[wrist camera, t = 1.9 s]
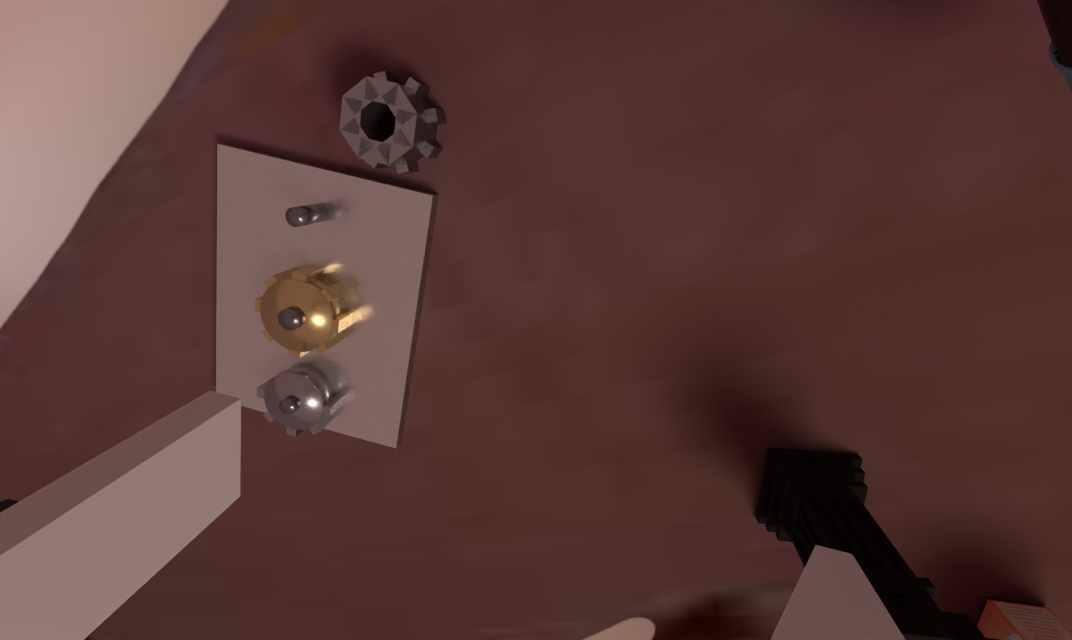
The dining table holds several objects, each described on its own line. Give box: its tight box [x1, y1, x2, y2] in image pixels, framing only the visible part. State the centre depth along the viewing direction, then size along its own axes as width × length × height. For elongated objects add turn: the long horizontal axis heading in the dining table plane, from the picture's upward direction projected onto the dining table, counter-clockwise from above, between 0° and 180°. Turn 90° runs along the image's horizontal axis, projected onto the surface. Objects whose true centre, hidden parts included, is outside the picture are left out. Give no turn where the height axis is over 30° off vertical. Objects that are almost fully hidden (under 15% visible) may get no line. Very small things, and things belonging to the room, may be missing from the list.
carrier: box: [216, 144, 438, 448], centre depth 47 cm, size 26×20×6 cm
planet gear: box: [340, 71, 447, 174], centre depth 41 cm, size 8×8×5 cm
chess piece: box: [756, 448, 1000, 640], centre depth 39 cm, size 8×8×20 cm
